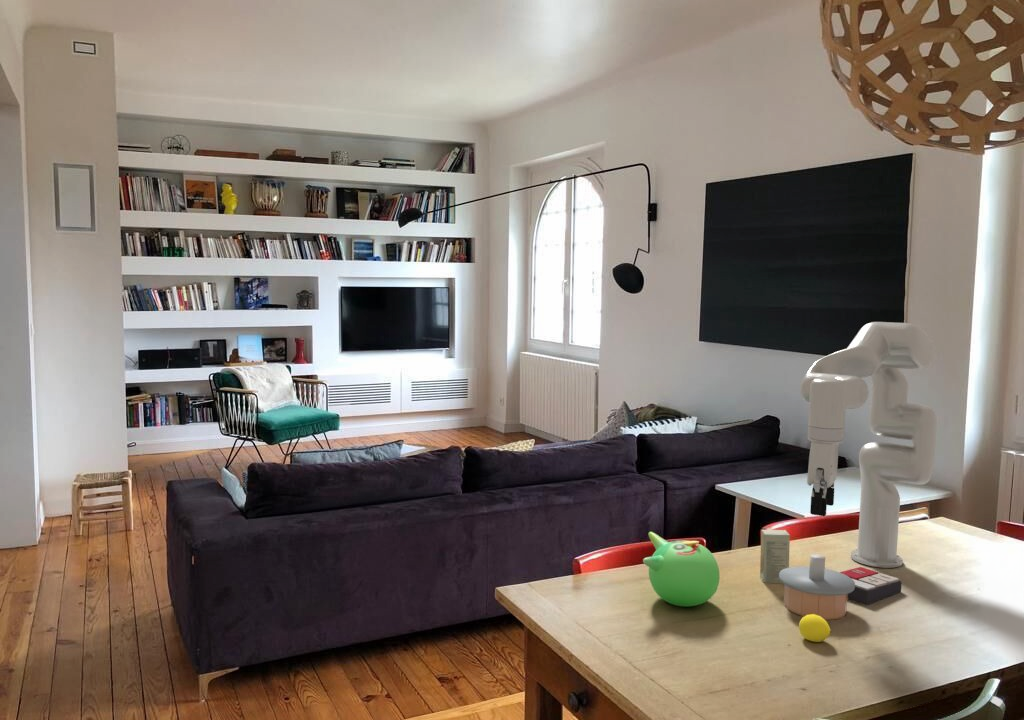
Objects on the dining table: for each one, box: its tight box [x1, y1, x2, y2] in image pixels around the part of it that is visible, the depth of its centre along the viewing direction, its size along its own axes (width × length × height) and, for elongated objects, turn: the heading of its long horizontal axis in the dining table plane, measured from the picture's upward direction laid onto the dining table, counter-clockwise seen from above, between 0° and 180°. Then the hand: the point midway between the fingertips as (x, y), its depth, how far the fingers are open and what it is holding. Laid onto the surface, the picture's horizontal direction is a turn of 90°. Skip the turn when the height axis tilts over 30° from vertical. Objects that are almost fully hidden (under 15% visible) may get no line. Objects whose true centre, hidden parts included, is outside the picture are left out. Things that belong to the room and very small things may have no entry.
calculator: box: [838, 566, 903, 606], centre depth 197 cm, size 11×4×15 cm
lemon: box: [798, 614, 832, 643], centre depth 169 cm, size 7×5×5 cm
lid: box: [779, 554, 855, 596], centre depth 185 cm, size 16×16×6 cm
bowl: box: [783, 584, 849, 621], centre depth 186 cm, size 13×13×6 cm
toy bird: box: [642, 531, 721, 608], centre depth 188 cm, size 18×17×15 cm
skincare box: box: [759, 529, 791, 584], centre depth 203 cm, size 6×4×12 cm
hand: (822, 509), depth 185 cm, fingers open, 9 cm apart
